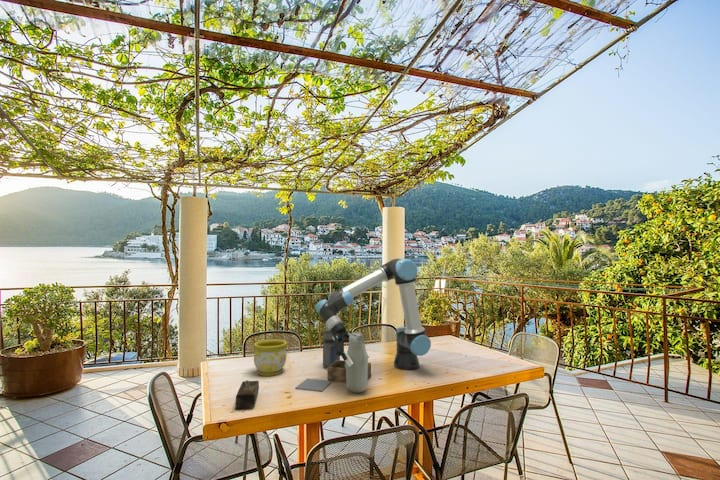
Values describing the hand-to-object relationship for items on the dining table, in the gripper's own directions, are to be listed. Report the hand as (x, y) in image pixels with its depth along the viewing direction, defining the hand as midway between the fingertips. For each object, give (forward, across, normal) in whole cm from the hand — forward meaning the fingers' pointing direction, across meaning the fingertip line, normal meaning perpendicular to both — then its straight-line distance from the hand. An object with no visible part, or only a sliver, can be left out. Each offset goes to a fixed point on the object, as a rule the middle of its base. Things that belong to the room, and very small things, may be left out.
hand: (359, 361), depth 167 cm
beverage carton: (-14, +38, -35) cm, 53 cm away
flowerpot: (-31, +6, -52) cm, 60 cm away
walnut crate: (-1, -13, -22) cm, 25 cm away
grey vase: (+9, 0, -12) cm, 15 cm away
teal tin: (-3, -14, -22) cm, 27 cm away
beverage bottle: (-17, -23, -37) cm, 47 cm away
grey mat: (-7, +6, -27) cm, 29 cm away
